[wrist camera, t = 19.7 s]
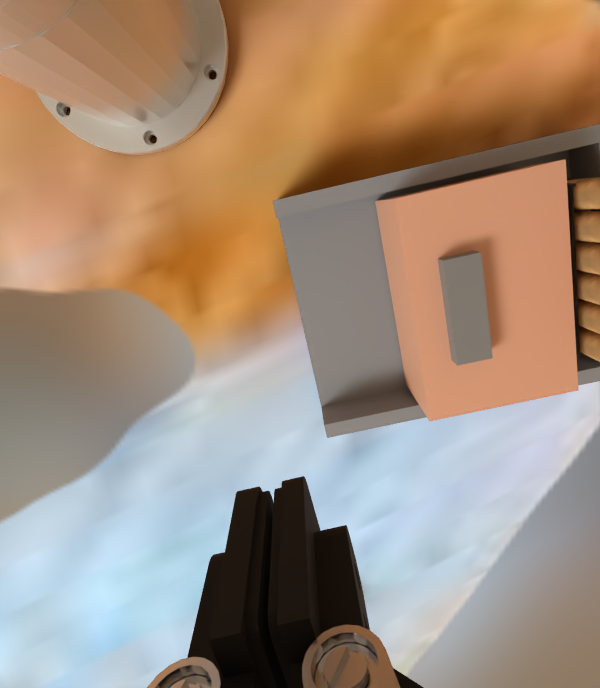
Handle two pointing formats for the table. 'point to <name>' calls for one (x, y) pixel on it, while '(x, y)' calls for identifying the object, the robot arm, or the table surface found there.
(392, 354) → the grey shallow rimmed piece
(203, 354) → the table surface
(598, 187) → the ammunition clip
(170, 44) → the robot arm
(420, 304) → the slider
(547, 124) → the table surface
